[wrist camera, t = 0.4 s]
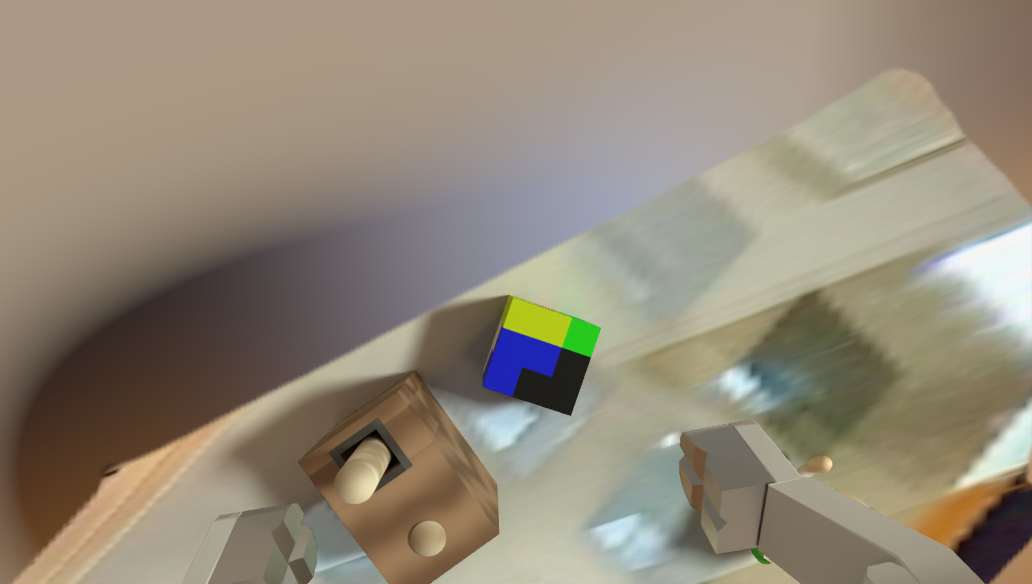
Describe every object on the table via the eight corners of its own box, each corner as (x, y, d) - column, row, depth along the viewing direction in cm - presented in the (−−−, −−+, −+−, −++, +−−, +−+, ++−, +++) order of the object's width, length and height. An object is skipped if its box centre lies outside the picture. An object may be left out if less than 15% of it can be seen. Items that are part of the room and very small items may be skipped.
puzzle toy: (483, 369, 62) (482, 387, 52) (508, 294, 62) (513, 297, 52) (557, 393, 62) (570, 415, 52) (582, 319, 62) (601, 327, 52)
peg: (405, 444, 55) (383, 488, 43) (378, 463, 55) (350, 512, 43) (386, 418, 54) (359, 455, 43) (360, 437, 54) (325, 479, 43)
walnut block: (497, 484, 62) (499, 535, 50) (419, 539, 62) (402, 604, 49) (414, 370, 61) (396, 393, 49) (335, 425, 61) (296, 463, 48)
